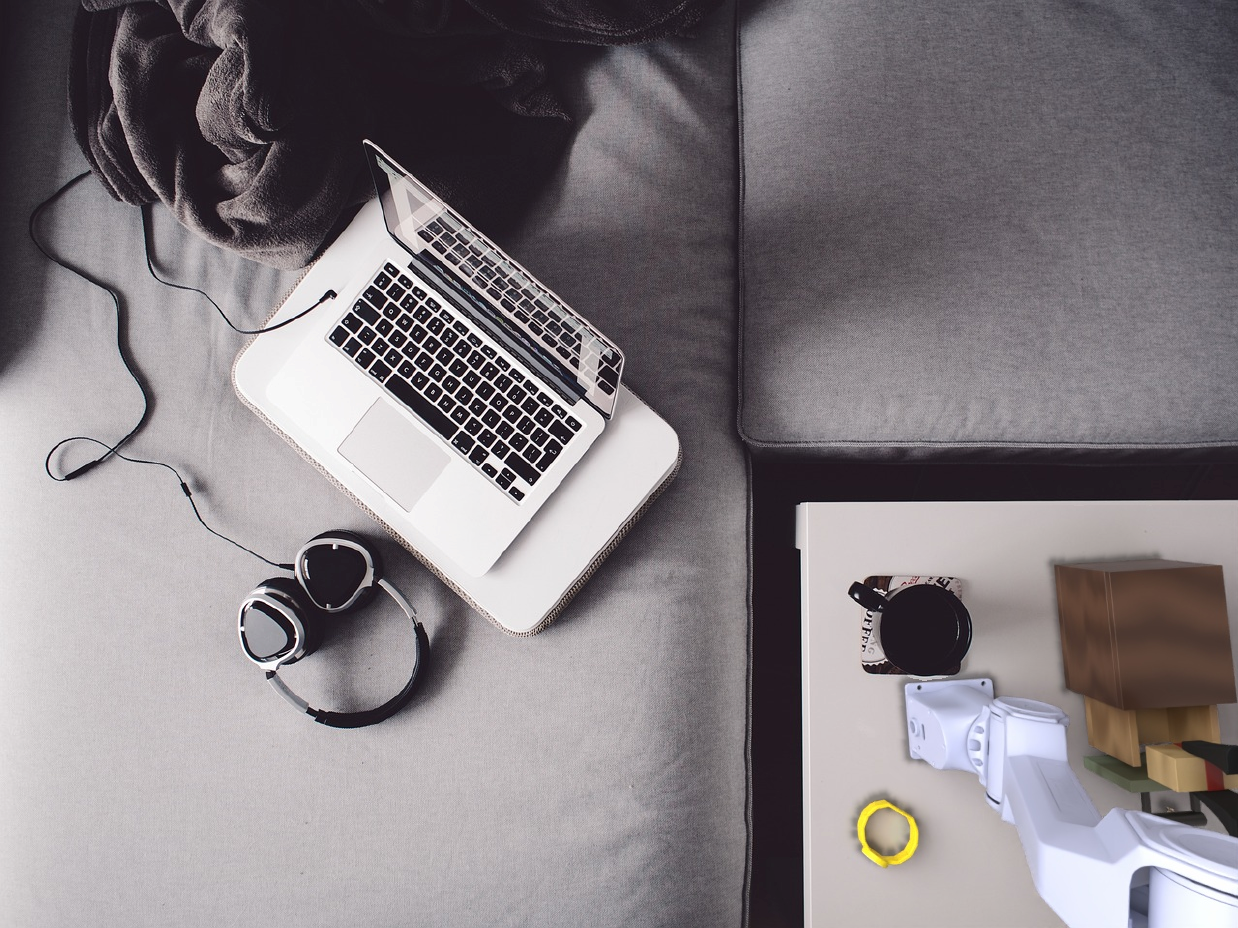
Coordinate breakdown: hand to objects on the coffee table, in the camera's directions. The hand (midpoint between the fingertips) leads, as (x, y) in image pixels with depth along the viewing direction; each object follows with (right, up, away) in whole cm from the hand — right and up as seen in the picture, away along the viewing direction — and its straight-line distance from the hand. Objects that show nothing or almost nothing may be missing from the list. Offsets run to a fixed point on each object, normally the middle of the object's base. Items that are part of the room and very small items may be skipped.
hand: (1194, 764), depth 65 cm
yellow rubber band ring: (-24, -8, +9) cm, 27 cm away
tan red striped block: (0, 0, +1) cm, 1 cm away
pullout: (+1, 0, +10) cm, 10 cm away
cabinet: (0, +11, +11) cm, 15 cm away
